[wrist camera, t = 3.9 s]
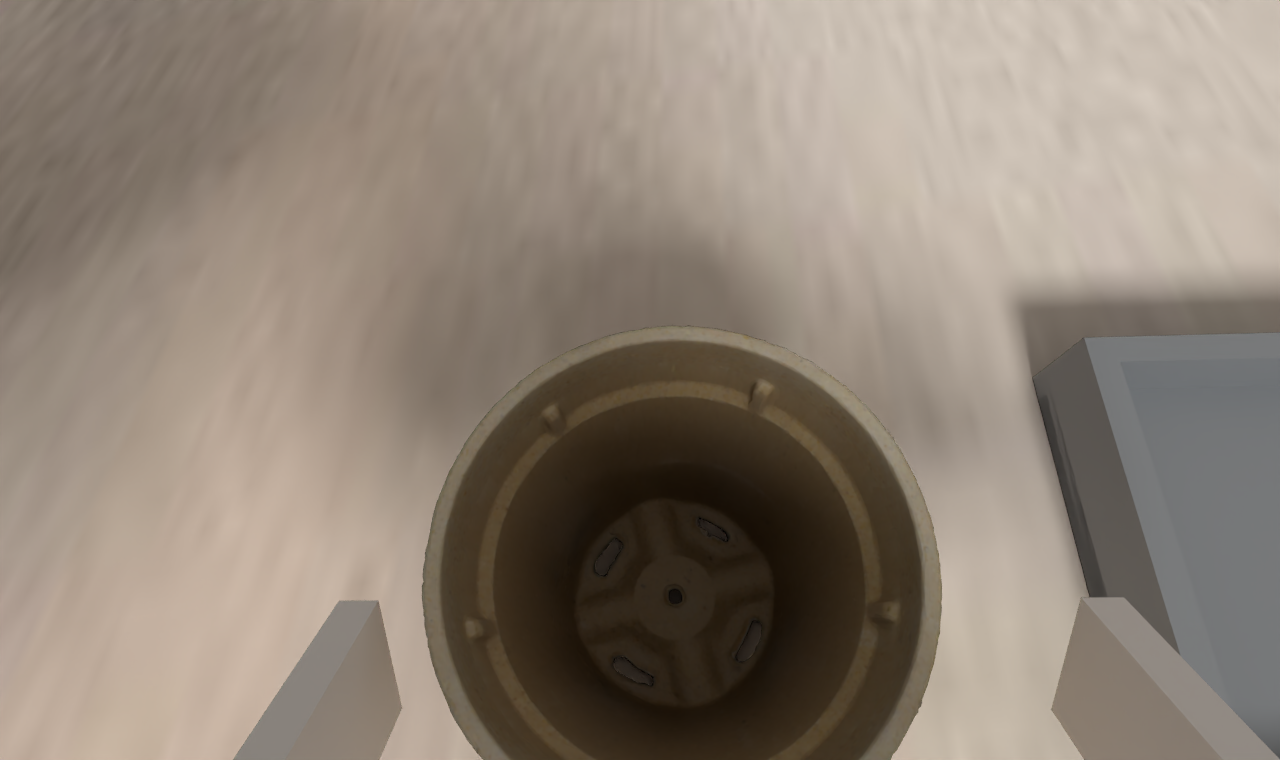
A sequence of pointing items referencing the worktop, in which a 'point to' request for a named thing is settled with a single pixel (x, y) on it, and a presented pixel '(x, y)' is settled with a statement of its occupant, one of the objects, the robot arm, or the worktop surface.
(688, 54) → the worktop surface
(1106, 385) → the tray
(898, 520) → the flower pot
